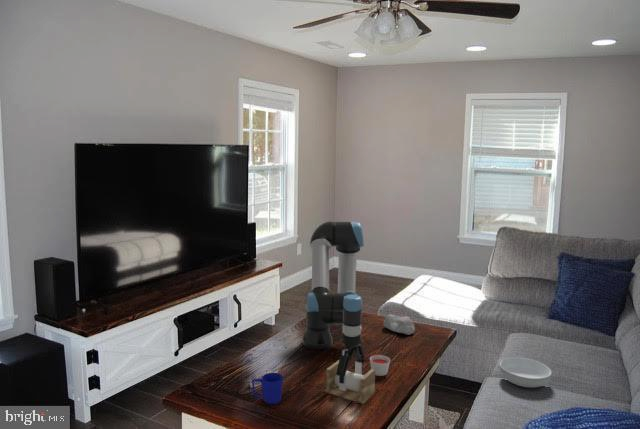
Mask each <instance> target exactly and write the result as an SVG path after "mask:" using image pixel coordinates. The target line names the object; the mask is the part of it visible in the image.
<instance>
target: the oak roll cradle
mask: <svg viewBox="0 0 640 429" xmlns="http://www.w3.org/2000/svg"><path fill="white" fill-rule="evenodd" d="M338 364H339V359H338V360H337V361H336V362H334V363H332V364H331V365H330V366H328V367H327V368H326V378H325V379H326V380H325V381H326V387H325V388H326V391H325V392H326V393H327V394H330V395H333V396H336V397H340V398H342V399H343V398H344V399H346V400H349V401H353V402H356V403H360V404H362V405H364V404H365V403H366V402H367V401H368V400H369V399H370V398H371V397H373V395H375V385H376V384H375V383H376V375H375V370H373V369H371V368H370V370H369V371H367V372H366V373H365V374H363V375H364V376H363V377H362V378H361V379H360V393H358V392H355V391H352V390H348V389H346V391H343V390H339V387H338V386H336V385H335V376H336V372H337V368H338Z"/></svg>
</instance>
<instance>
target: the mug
mask: <svg viewBox="0 0 640 429" xmlns="http://www.w3.org/2000/svg"><path fill="white" fill-rule="evenodd" d="M283 380H284V378H283V375H282V374H281V373H278V372H268V373H265V374H263V375H262V376H261V378H253V379H251V385H252V393H253V395H254V397H255V398H257V399H261V398H263V401H264V403H266V404H268V405H275V404H279V403H280V401H281V400H282V391H283ZM255 382H260V384H261V391H262V392H261V393H262V394H261V395H258V394H257V393H256V390H255Z"/></svg>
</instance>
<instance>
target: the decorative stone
mask: <svg viewBox="0 0 640 429" xmlns="http://www.w3.org/2000/svg"><path fill="white" fill-rule="evenodd" d="M383 325H384V327H385V328H387V329H388V330H390V331H392V332H395V333H398V334H403V335H406V336H408V335H412V334H413V333H414V332H415V331H416V329H415V324H414V322H413V321H412V319H411V318H410V317H409V316H398V315H395V314H388V315H386V316H385V318H384V320H383Z"/></svg>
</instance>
